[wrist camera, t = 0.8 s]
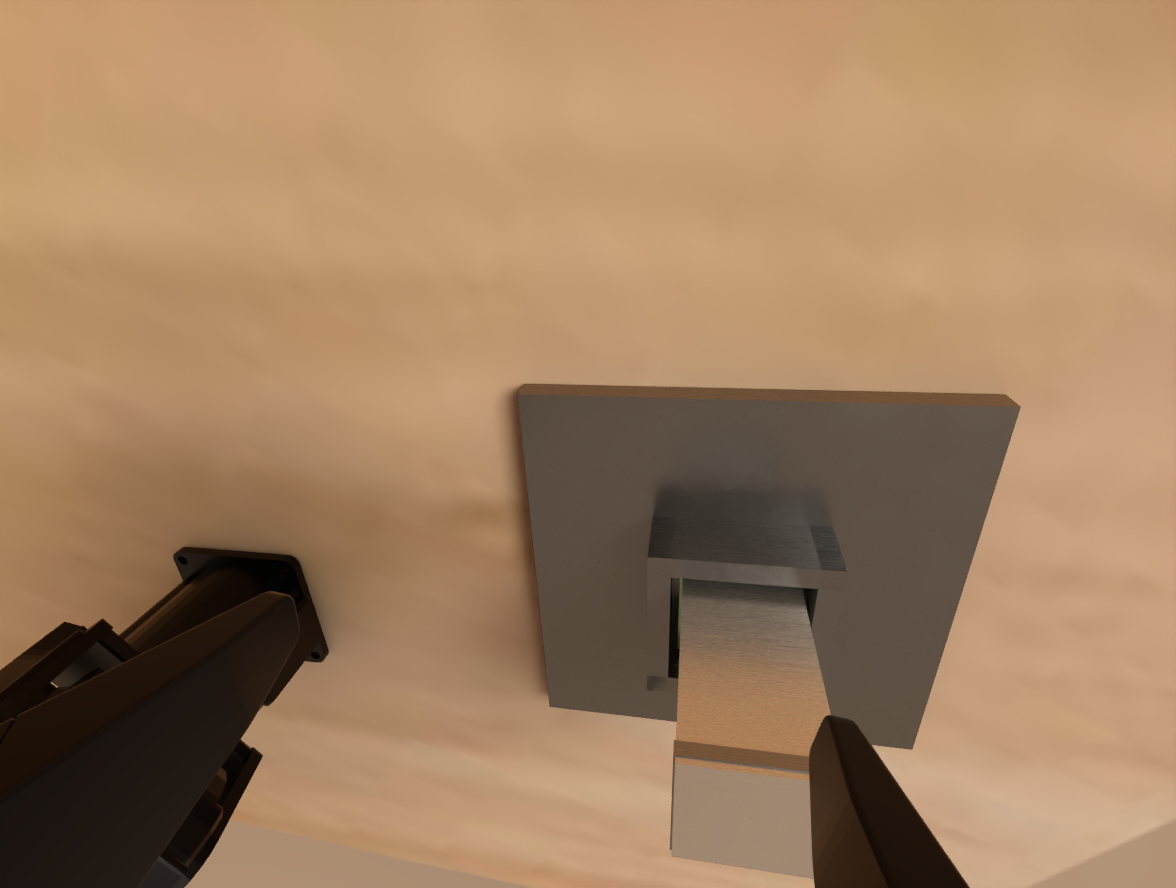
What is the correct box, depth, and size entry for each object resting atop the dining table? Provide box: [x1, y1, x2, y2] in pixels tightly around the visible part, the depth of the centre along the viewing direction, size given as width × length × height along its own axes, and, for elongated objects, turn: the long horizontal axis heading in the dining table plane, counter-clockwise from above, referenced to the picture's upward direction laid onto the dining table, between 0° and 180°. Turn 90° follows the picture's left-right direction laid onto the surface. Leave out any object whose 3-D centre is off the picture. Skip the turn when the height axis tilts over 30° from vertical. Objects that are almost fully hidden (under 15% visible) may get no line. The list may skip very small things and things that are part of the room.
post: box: [670, 578, 831, 879], centre depth 19 cm, size 4×4×9 cm
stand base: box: [517, 384, 1020, 749], centre depth 22 cm, size 16×16×4 cm
